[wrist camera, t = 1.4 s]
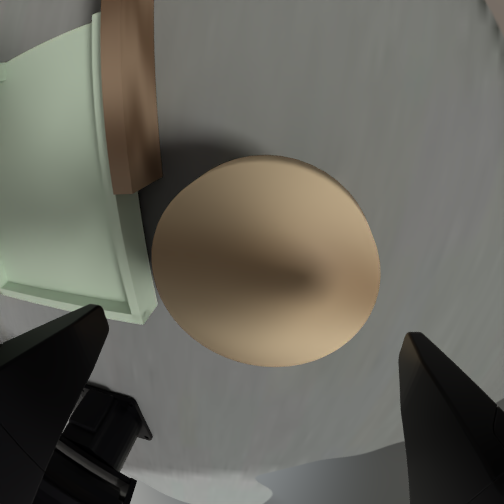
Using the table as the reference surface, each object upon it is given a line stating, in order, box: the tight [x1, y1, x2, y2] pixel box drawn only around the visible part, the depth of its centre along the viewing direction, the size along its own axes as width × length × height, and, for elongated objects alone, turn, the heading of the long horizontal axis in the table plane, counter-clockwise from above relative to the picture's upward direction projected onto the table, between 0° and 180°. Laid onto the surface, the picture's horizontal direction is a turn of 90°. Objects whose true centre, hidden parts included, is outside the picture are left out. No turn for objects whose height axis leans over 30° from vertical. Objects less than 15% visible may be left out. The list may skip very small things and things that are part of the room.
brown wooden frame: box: [100, 0, 163, 195], centre depth 12 cm, size 18×17×3 cm
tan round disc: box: [152, 155, 380, 367], centre depth 12 cm, size 8×8×2 cm
